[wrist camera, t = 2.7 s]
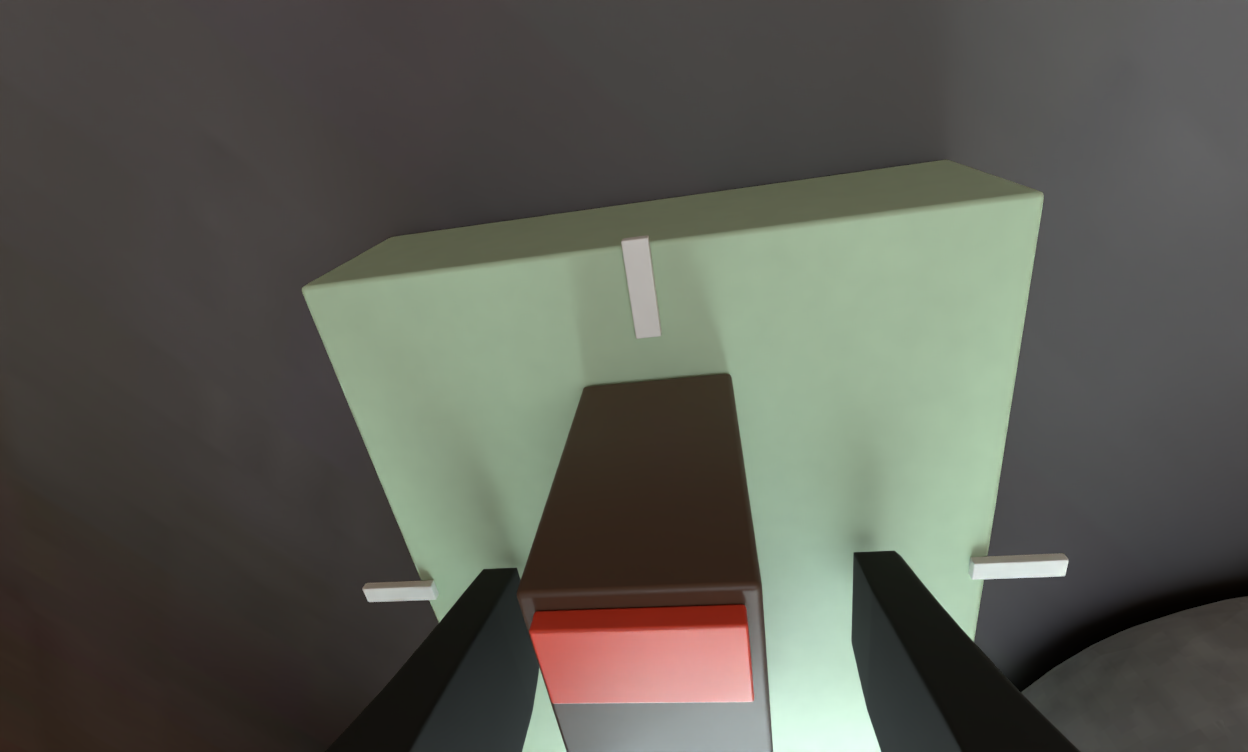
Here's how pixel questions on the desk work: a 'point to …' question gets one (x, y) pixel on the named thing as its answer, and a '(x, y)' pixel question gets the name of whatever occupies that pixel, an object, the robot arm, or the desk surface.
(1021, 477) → the desk surface
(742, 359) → the stand
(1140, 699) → the dish
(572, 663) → the brown block
